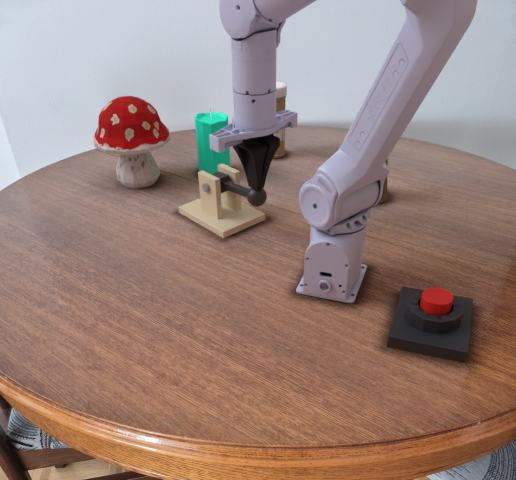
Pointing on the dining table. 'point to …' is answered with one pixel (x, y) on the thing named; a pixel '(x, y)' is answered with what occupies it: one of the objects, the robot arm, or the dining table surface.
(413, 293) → the control block
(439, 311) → the button
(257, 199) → the lever
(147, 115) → the decorative mushroom
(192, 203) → the lever
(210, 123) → the candle
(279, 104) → the sprinkles bottle
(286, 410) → the dining table surface
